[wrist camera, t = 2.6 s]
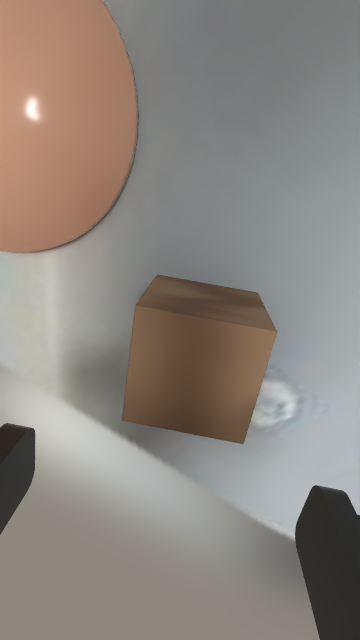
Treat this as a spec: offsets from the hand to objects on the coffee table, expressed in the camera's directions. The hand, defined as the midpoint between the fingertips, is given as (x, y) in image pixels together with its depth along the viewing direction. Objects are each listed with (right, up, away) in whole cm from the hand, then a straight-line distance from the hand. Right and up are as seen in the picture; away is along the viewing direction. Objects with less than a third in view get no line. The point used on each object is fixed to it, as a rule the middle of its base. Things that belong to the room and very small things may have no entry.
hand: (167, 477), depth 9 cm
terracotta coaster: (-9, +15, +7) cm, 19 cm away
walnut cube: (+2, +4, +11) cm, 12 cm away
